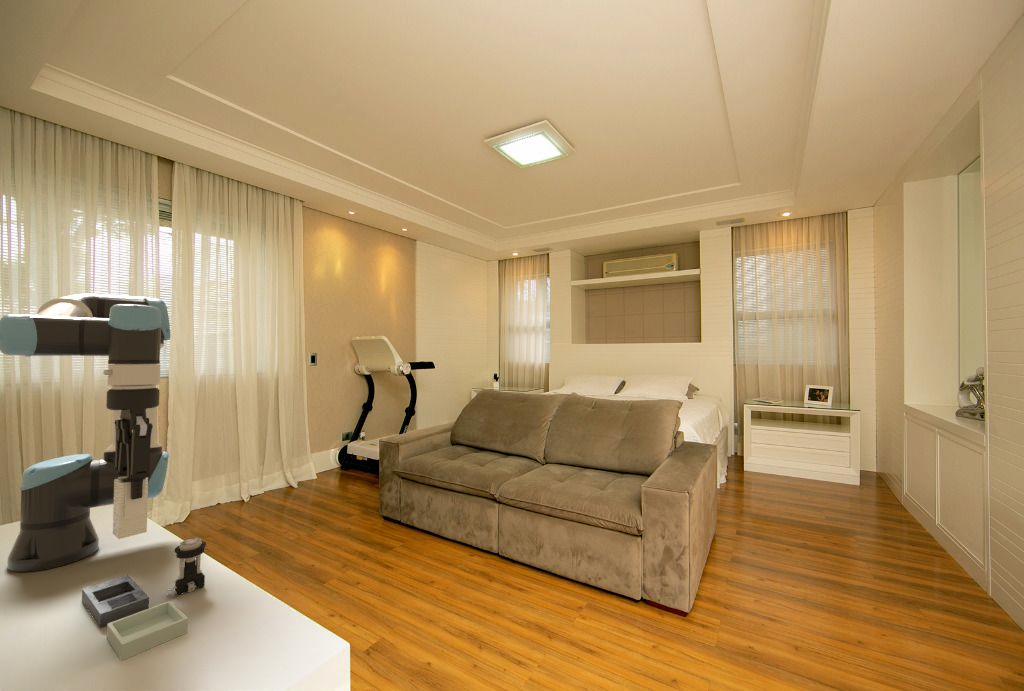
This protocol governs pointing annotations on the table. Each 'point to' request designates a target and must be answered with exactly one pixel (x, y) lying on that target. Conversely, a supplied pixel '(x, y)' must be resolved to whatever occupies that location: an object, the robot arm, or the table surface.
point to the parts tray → (146, 629)
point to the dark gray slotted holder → (114, 600)
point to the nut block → (121, 524)
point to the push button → (189, 566)
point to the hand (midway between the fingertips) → (130, 513)
